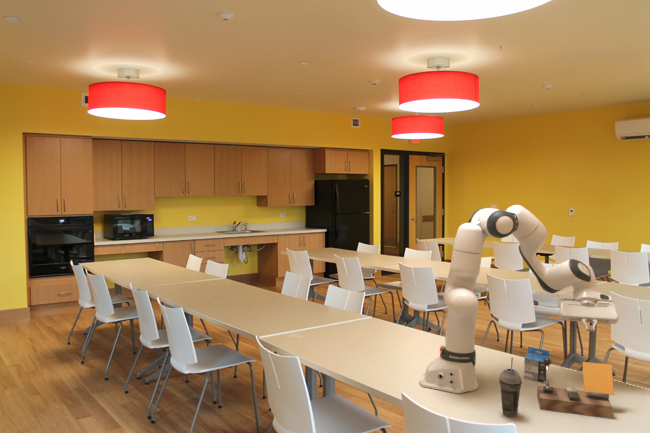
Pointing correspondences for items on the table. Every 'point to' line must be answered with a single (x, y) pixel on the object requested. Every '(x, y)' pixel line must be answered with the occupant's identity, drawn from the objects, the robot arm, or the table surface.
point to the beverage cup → (510, 391)
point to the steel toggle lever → (547, 376)
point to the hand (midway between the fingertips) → (590, 330)
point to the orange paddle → (598, 379)
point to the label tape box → (535, 364)
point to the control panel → (573, 402)
